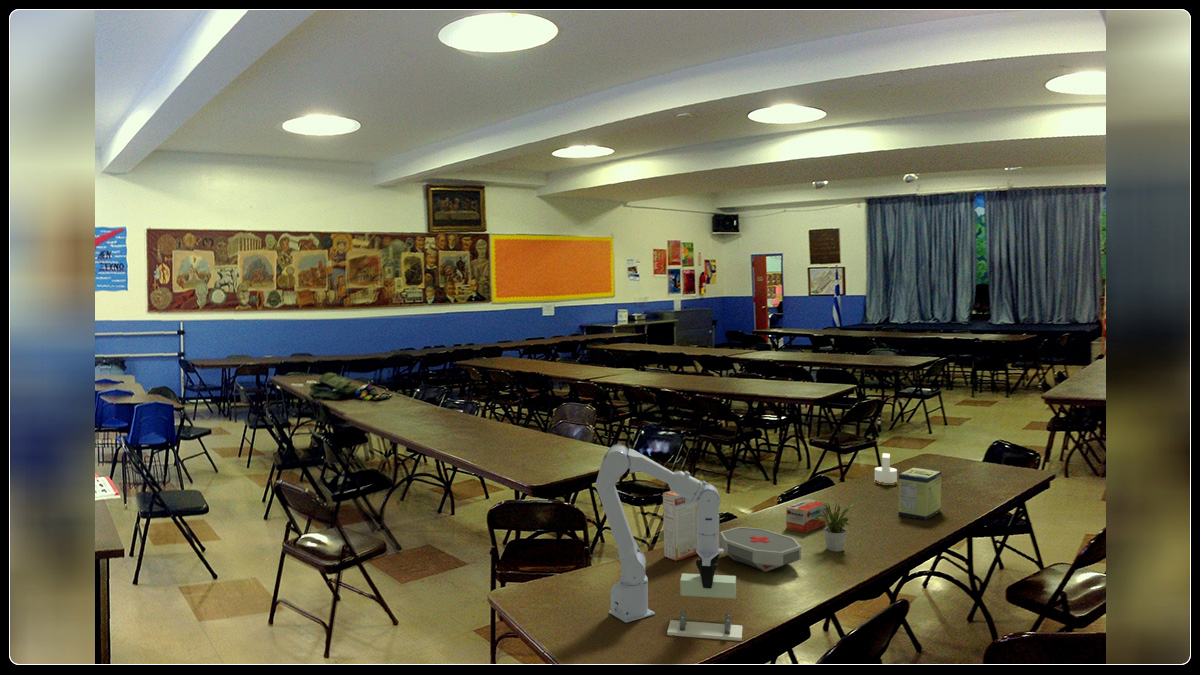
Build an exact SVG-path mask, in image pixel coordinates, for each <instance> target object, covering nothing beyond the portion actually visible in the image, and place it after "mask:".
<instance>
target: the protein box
mask: <svg viewBox="0 0 1200 675" xmlns="http://www.w3.org/2000/svg"><path fill="white" fill-rule="evenodd" d="M941 507H942V471H941V470H935V469H927V468H921V467H915V466H914V467H912V468H910V469H907V470H905V471H903V472H901V473H899V474H898V514H897V515H898V516H899V515H904V516H909V517H908V518H910V517H915V518H914V519H916V518H921V519H928V518H929V517H930V516H932V515H934V514H935V513H936V512H938V511H939V510H940V509H942V508H941ZM904 516H903V517H904ZM934 516H935V515H934ZM921 519H920V520H921ZM929 519H930V518H929ZM929 519H928V520H929Z"/></svg>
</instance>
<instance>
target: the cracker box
mask: <svg viewBox="0 0 1200 675" xmlns="http://www.w3.org/2000/svg"><path fill="white" fill-rule="evenodd" d="M662 510H663V512H662V513H663V517H662V518H663V519H662V520H663V521H662V523H663V557H664V558H666V557H667V558H666V559H669V560H672V561H675V562H677V560H678V561H681V560H684V559H686V558H690V557H692V556H695V555H698V554H697V552H696V548H697V514H698V505H697V503H696V502H691V501H690V500H688V499H686V498H684V497H682V496H680V495H678V494H676V493H674V492H672V491H671V490H669V491H665V492H663V493H662Z"/></svg>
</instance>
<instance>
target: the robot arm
mask: <svg viewBox="0 0 1200 675" xmlns="http://www.w3.org/2000/svg"><path fill="white" fill-rule="evenodd" d="M599 467H600V468H599V471H598V475H597V478H596V481H595V488H596V491H597V493H598V496H599V500H600V502H601V505H602V508H603V510H604V513H605V516H606V518H607V522H608V526H609V528H610V531H611V533H612V536H613V539H614V541H615V544H616V547H617V551H618V552H617V553H618V557H619V561H620V566H621V568H620V577H619V580H618V582H617V583H615V584H612V585H611V588H610V610H609V611H608V614H611V615H612V616H613V617H615V618H617V619H618V620H621V621H622V622H624V623H630V622H633V621H637V620H641V619H644V618H646V617H651V616H653V615H655V614H656V612H655V611H653V610H651V609H649V590H648V588H649V586H648V585H649V584H648V583H649V580H648V579H649V578H648V576H647V575H646V565H647V557H646V555H645V553H643V552H642V551H641V549H640V548H639V545H638V543H637V541H636V540H635V537H634V535H633V532H632V529H631V527H630V524H629V522H628V518H627V515H626V513H625V509H624V507H623V504H622V501H621V499H620V495H619V492H618V490H617V487H616V484H617V483H618V481H619V479H620V478H621V477H622V476H623V475H624V474H626V472H627V471H628V469H629V474H633V473H638V472H642V473H644V474H646V475H648V476H650V477H653V478H655V479H657V480H658V481H661V482H663V483H665V484H668V487H669V489H670V490H669V491H672V492H674V493H676V494H678V495H680V496H682V497H684V498H686V499H688V500H690V501H691V502H696V503H697V505H698V514H697V548H696V552H697V554H696V555H697V556H698V557H699V559H696V561H695V564H696V568H697V569H698V572H699V574H700V575H701V580H702V585H703V588H710V589H711V588H712V584H713V577H714V575H715V572H716V571H717V568H718V565H719V562H718V559H719V557H720V554H721V555H722V554H725V551H724V549H723V548H722V547H721V548H720V514H719V513H720V508H719V507H720V506H721V498H720V494H719V491H718V489H717V488H716V486H715V485H713V484H712V483H708V482H706V481H705V480H702V481H701V480H699V479H697V478H695V477H693V476H691V473H690V472H689V471H688V470H685V471H682V470H678V471H675V472H674V471H671V470H670V469H668V468H666V467H665V466H663V465H661V464H660V463H658V462H656V461H654V460H652V459H650V458H649V457H647V456H645V455H644V454H642V453H640V452H638V451H637V450H635V449H632V448H630V447H629V448H628V447H627V446H626V445H623V444H613V445H612V446H611V447H610V448H609V449H608V450H607V451H606V453H605V454H604V457H603V459H602V461H601V464H600V466H599Z"/></svg>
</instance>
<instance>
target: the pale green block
mask: <svg viewBox="0 0 1200 675" xmlns="http://www.w3.org/2000/svg"><path fill="white" fill-rule="evenodd" d="M679 584H680V589H679V590H680V596H682V597H702V598H703V597H704V598H719V599H721V598H723V599H736V598H737V576H736V575H726V574H725V575H724V574H723V575H722V574H714V577H713V584H712V588H711V589H710V588H703V585H702V580H701V575H700V573H683V572H682V573H681V577H680V582H679Z"/></svg>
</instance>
